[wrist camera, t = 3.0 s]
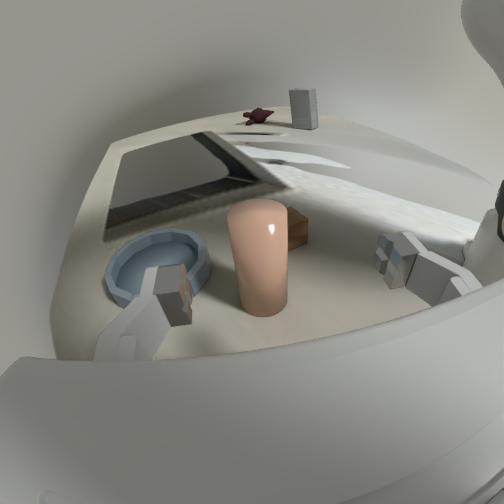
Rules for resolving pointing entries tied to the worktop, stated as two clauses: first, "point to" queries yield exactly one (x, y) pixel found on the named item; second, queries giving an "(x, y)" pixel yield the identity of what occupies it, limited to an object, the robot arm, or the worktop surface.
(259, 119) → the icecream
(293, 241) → the walnut block
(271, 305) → the peach tapered cylinder
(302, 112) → the skincare box
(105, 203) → the worktop surface
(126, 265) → the dish
